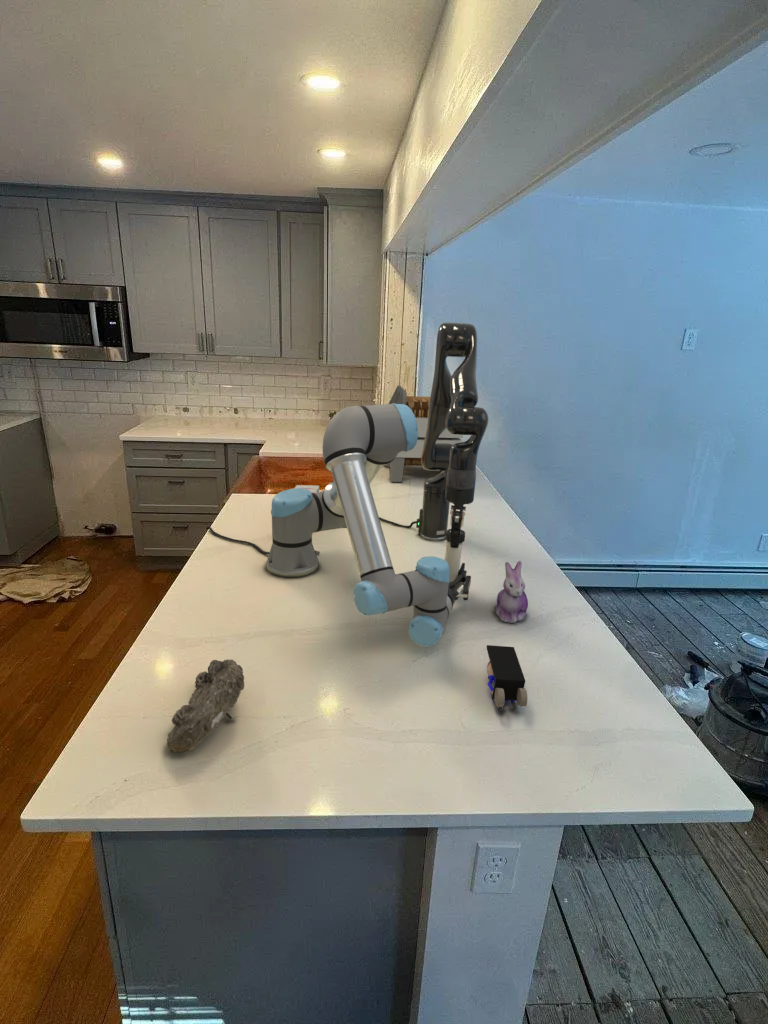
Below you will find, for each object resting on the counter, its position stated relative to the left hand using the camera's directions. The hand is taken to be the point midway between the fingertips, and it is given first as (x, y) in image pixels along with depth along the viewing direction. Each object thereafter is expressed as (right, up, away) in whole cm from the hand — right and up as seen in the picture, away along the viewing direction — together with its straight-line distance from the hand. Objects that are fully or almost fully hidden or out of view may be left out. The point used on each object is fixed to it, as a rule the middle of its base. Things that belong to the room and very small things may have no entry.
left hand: (454, 565), depth 162 cm
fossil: (-53, -24, -53) cm, 79 cm away
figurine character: (+5, -23, -43) cm, 49 cm away
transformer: (-3, +34, +113) cm, 119 cm away
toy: (-49, +13, +50) cm, 71 cm away
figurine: (+13, -12, -12) cm, 22 cm away
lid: (-1, +10, -9) cm, 13 cm away
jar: (-2, -8, -3) cm, 8 cm away
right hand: (-1, +7, -8) cm, 10 cm away
